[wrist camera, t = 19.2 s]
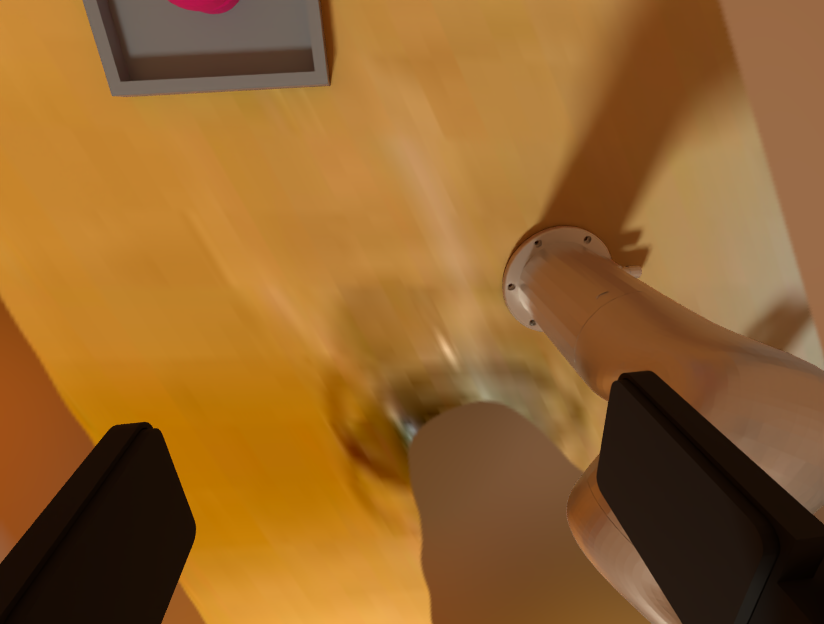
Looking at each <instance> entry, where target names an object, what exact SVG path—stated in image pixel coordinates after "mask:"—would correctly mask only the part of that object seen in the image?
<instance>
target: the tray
mask: <svg viewBox="0 0 824 624" xmlns="http://www.w3.org/2000/svg"><path fill="white" fill-rule="evenodd" d="M83 3H84V6H85V9H86V13H87V16H88V19H89V22H90V26H91V29H92V32H93V35H94V39H95V42H96V45H97V48H98V52H99V55H100V58H101V61H102V65H103V68H104V71H105V74H106V78H107V81H108V84H109V87H110V91H111V94H112V96H121V97H134V96H152V95H170V94H188V93H207V92H225V91H243V90H261V89H279V88H297V87H315V86H330V78H329V70H328V61H327V53H326V44H325V36H324V27H323V19H322V10H321V2H320V0H239V2H238V3H237V4H236V5H235V6H234V7H233V8H232V9H230V10H228V11H227V12H224V13H220V14H207V13H203V12H200V11H192V10H186V9H183V8H180V7H178V6H176V5H174V4H172V3H171V2H169V1H168V0H83Z"/></svg>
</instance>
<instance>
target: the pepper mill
mask: <svg viewBox="0 0 824 624" xmlns="http://www.w3.org/2000/svg"><path fill="white" fill-rule="evenodd" d="M168 1H169V2H171V3H172V4H174V5H176V6H178V7H180V8H183V9H186V10H192V11H200V12H203V13H207V14H220V13H224V12H227V11H228V10H230V9H232V8H233V7H234V6H235V5H236V4H237V3H238V2H239V0H168Z"/></svg>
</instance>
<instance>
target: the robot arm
mask: <svg viewBox="0 0 824 624" xmlns="http://www.w3.org/2000/svg"><path fill="white" fill-rule="evenodd" d="M585 237H586V238H585ZM584 238H585V239H584ZM536 241H537V243H536V244H534V243H535V242H536ZM641 274H642V270H641V267H640V266H639V265H634V266H626V267H622V266H621V265H619V264H617V263H616V262H614V261H612V259H611V255H610V253H609V251H608V249H607V247H606V246H605V245H604V243H603V242H602V241H601V240H600V239H599V238H598V237H596V236H595V235H594V234H592V233H590V232H589V231H587V230H584V229H581V228H578V227H573V226H556V227H552V228H548V229H545V230H543V231H540V232H538V233H536V234H534V235H533V236H531V237H530V238H529V239H527V240H526V241H525V242H524V243H522V244H521V245H520V246H519V247H518V248H517V250H516V251H515V252H514V254H513V255H512V257H511V258H510V260H509V262H508V264H507V266H506V269H505V272H504V276H503V284H502V289H503V297H504V300H505V303H506V306H507V307H508V309H509V311H510V312H511V314H512V315H513V316H514V317H515V319H516V320H518V321H519V322H520V323H521V324H523V325H524V326H526V327H528V328H530V329H533V330H536V331H541V332H544V333H545V334H546V335H547V336H548V338H549V339H550V340H551V341H552V342H553V344H554V345H555V346H556V347H557V349H558V350H559V351H560V352H561V354H562V355H563V356H564V357H565V358H566V360H567V361H568V362H569V363H570V365H571V366H572V367H573V368H574V369H575V371H576V372H577V373H578V374H579V376H580V377H581V378H582V379H583V380H584V381H585V383H586V384H587V385H588V386H589V387H590V388H591V389H592V390H593V391H594V392H595V393H596V394H597V395H599V396H600V397H601V398H603V399H605V400H606V401H608V407H607V413H606V419H605V425H604V431H603V437H602V444H601V450H600V454H599V455H598V456H597V457H596V458H595V459H594V461H593V462H592V463H591V464H590V465H589V467H588V468H587V469H586V471H585V472H584V473H583V474H582V475H581V477H580V478H579V480H578V481H577V482H576V484H575V485H574V487H573V489H572V490H571V492H570V495H569V498H568V502H567V519H568V523H569V527H570V529H571V531H572V534H573V536H574V538H575V540H576V542H577V543H578V545H579V547H580V548H581V550H582V551H583V552H584V554H585V555H586V557H587V558H588V559H589V560H590V562H591V563H592V564H593V565H594V566H595V568H596V569H597V570H598V571H599V572H600V573H601V574H602V575H603V576H604V577H605V579H606V580H607V581H608V582H609V583H610V584H611V585H612V586H613V587H614V588H615V589H616V590H617V591H618V592H619V593H620V594H622V596H623V597H624V598H626V600H628V601H629V602H630V603H631V604H632V605H633V606H634V607H635V608H636V609H637V610H638V611H639V612H640V613H641V614H642V615H643V616H644V617H645V618H646V619H647V620H649V621H650V622H651V623H652V624H824V524H823V523H822V522H820V521H819V520H818V519H817V518H816V517H815V516H814V515H813V514H814V513H815V512H816V511H817V510H819V509H820V508H821V507H822V506H823V505H824V371H823V370H821V369H820V368H818V367H817V366H815V365H813V364H811V363H809V362H807V361H805V360H802V359H800V358H798V357H796V356H794V355H792V354H789V353H787V352H784V351H782V350H779V349H777V348H774V347H771V346H769V345H766V344H763V343H761V342H758V341H756V340H753V339H750V338H748V337H745V336H743V335H740V334H738V333H735V332H733V331H731V330H728V329H726V328H724V327H722V326H719V325H717V324H715V323H713V322H711V321H709V320H707V319H706V318H704V317H702V316H700V315H698V314H697V313H695V312H693V311H691V310H689V309H687V308H686V307H684V306H682V305H681V304H679V303H677V302H675V301H674V300H672V299H671V298H669V297H667V296H665V295H663V294H662V293H660V292H658V291H657V290H655V289H653V288H652V287H650V286H649V285H647V284H645V283H644V282H642V281H640V280H639V279H637V278H639V277H640V276H641ZM509 284H511V285H510V286H508V285H509ZM195 534H196V524H195V520H194V518H193V515H192V512H191V510H190V507H189V504H188V502H187V499H186V496H185V494H184V491H183V488H182V486H181V483H180V480H179V478H178V475H177V472H176V470H175V467H174V464H173V462H172V459H171V456H170V454H169V451H168V448H167V445H166V443H165V440H164V437H163V435H162V433H161V431H160V430H159V429H157V428H154V429H153V427H152V425H150V424H149V423H147V422H140V423H130V424H121V425H115V426H113V427H112V428H110V429H109V430H108V432H107V433H106V434H105V435H104V436H103V438H102V439H101V440H100V441H99V443H98V444H97V445H96V446H95V448H94V449H93V450H92V452H91V453H90V454H89V455H88V456H87V457H86V459H85V460H84V461H83V462H82V464H81V465H80V466H79V468H78V469H77V470H76V471H75V472H74V474H73V475H72V476H71V477H70V479H69V480H68V481H67V482H66V483H65V485H64V486H63V487H62V488H61V490H60V491H59V492H58V493H57V495H56V496H55V497H54V498H53V499H52V501H51V502H50V503H49V504H48V506H47V507H46V508H45V509H44V511H43V512H42V513H41V514H40V515H39V517H38V518H37V519H36V520H35V522H34V523H33V524H32V526H31V527H30V528H29V529H28V531H26V533H25V534H24V535H23V536H22V538H21V539H20V540H19V541H18V543H17V544H16V545H15V546H14V548H13V549H12V550H11V551H10V553H9V554H8V555H7V556H6V557H5V559H4V560H3V561H2V562H1V564H0V624H161V623H162V620H163V617H164V615H165V612H166V610H167V608H168V605H169V602H170V600H171V597H172V595H173V593H174V590H175V587H176V585H177V583H178V580H179V578H180V575H181V573H182V570H183V568H184V565H185V563H186V560H187V558H188V555H189V553H190V550H191V548H192V545H193V543H194V539H195Z"/></svg>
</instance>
